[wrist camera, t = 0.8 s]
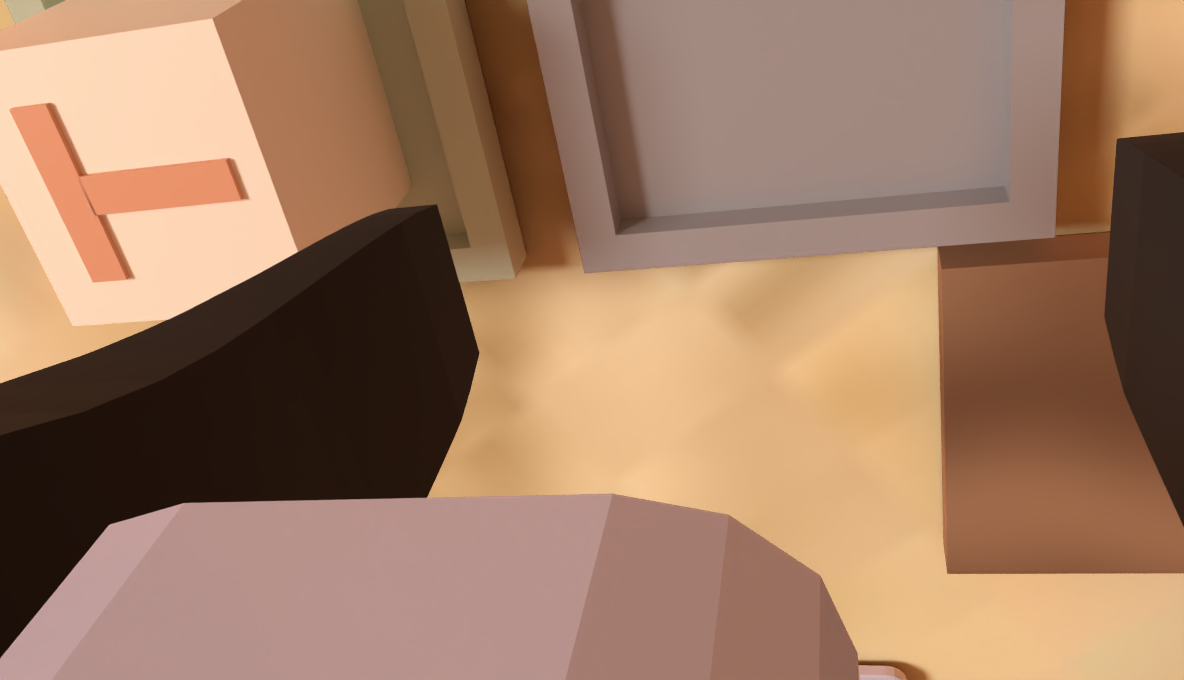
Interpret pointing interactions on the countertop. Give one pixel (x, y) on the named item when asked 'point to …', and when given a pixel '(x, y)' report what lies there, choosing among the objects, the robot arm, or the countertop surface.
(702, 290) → the countertop surface
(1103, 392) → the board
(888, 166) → the tray grey
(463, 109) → the tray sage
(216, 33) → the letter cube
